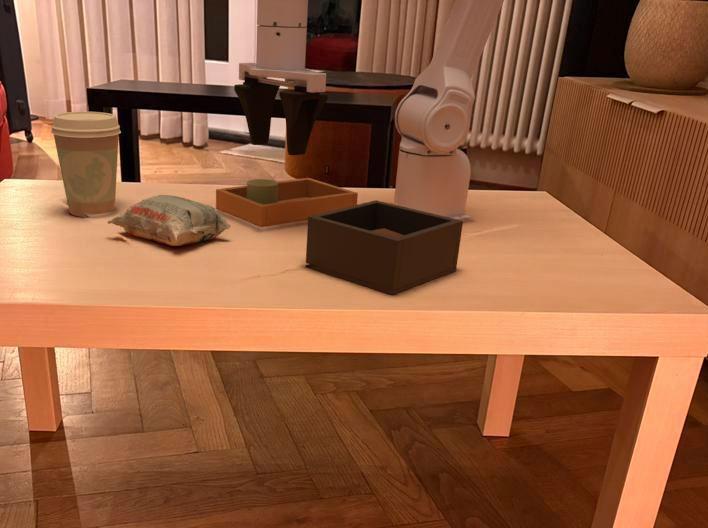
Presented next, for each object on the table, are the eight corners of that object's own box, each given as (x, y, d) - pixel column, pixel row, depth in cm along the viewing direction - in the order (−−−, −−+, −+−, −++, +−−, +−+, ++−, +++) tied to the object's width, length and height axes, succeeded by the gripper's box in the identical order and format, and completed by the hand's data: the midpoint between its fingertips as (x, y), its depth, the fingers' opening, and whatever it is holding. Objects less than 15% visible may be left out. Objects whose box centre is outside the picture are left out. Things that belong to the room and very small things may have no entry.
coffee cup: (46, 216, 98) (36, 118, 92) (76, 201, 105) (68, 109, 100) (109, 222, 96) (103, 122, 91) (135, 206, 104) (130, 113, 98)
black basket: (371, 246, 91) (375, 199, 88) (456, 270, 84) (463, 220, 81) (305, 266, 83) (307, 216, 81) (392, 295, 76) (398, 240, 74)
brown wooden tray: (307, 198, 111) (308, 177, 110) (356, 215, 104) (358, 192, 102) (215, 211, 103) (215, 189, 102) (261, 230, 95) (261, 206, 94)
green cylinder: (265, 208, 103) (266, 178, 102) (283, 215, 100) (284, 184, 99) (240, 211, 101) (241, 181, 99) (257, 218, 98) (258, 187, 97)
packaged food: (177, 260, 84) (176, 215, 81) (107, 238, 90) (105, 195, 88) (232, 245, 90) (232, 202, 87) (163, 225, 96) (162, 185, 94)
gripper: (217, 23, 91) (217, 142, 97) (292, 29, 81) (287, 162, 87) (266, 23, 95) (263, 138, 101) (343, 30, 84) (335, 157, 90)
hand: (277, 149), depth 94 cm, fingers open, 7 cm apart
